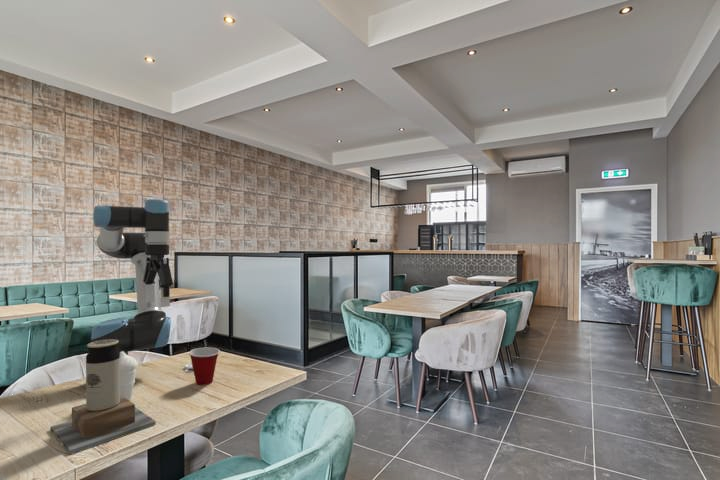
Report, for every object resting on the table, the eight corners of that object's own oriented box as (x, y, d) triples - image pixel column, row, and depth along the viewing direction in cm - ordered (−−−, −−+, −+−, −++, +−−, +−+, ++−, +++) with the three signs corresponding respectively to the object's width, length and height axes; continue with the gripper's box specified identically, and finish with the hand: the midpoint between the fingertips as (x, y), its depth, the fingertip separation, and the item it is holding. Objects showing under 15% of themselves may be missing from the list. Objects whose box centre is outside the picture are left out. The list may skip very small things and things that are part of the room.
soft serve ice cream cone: (143, 395, 130) (143, 349, 130) (121, 405, 122) (121, 356, 122) (125, 393, 133) (125, 347, 133) (102, 402, 125) (102, 353, 125)
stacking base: (50, 430, 106) (50, 408, 106) (129, 406, 121) (129, 387, 122) (70, 454, 93) (69, 430, 93) (155, 424, 109) (155, 403, 109)
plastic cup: (209, 388, 136) (209, 355, 136) (182, 386, 138) (182, 353, 138) (225, 378, 146) (225, 347, 147) (200, 376, 148) (200, 346, 149)
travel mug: (107, 398, 113) (107, 338, 113) (126, 402, 110) (126, 340, 110) (79, 409, 105) (79, 344, 106) (99, 413, 102) (98, 347, 103)
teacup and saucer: (181, 369, 159) (181, 360, 159) (200, 365, 164) (200, 356, 164) (188, 374, 152) (188, 364, 152) (208, 370, 158) (208, 360, 158)
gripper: (133, 243, 138) (133, 302, 138) (159, 243, 121) (159, 309, 121) (155, 243, 144) (155, 299, 143) (183, 243, 127) (183, 306, 127)
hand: (157, 304), depth 132 cm, fingers open, 13 cm apart
